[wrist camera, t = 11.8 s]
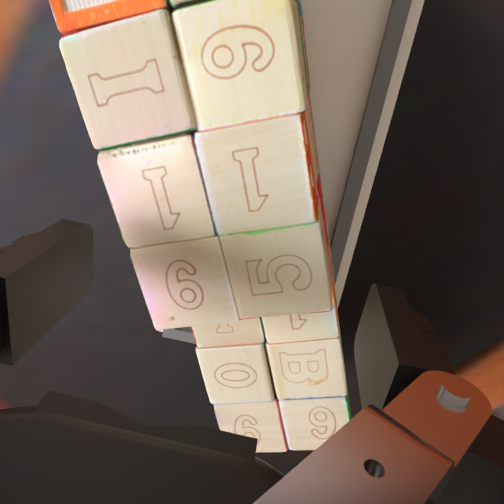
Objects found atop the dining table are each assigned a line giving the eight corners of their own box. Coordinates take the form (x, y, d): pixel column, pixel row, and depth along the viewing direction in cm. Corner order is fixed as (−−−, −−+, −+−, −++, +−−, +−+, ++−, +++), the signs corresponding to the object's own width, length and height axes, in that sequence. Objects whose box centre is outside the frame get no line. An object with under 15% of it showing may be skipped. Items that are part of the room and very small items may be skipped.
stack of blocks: (342, 335, 28) (361, 517, 17) (249, 342, 29) (207, 516, 18) (295, -51, 20) (270, -203, 9) (169, -19, 21) (4, -116, 10)
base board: (321, 355, 31) (321, 373, 29) (161, 321, 32) (152, 336, 30) (442, -83, 20) (455, -97, 18) (197, -119, 21) (185, -136, 19)
